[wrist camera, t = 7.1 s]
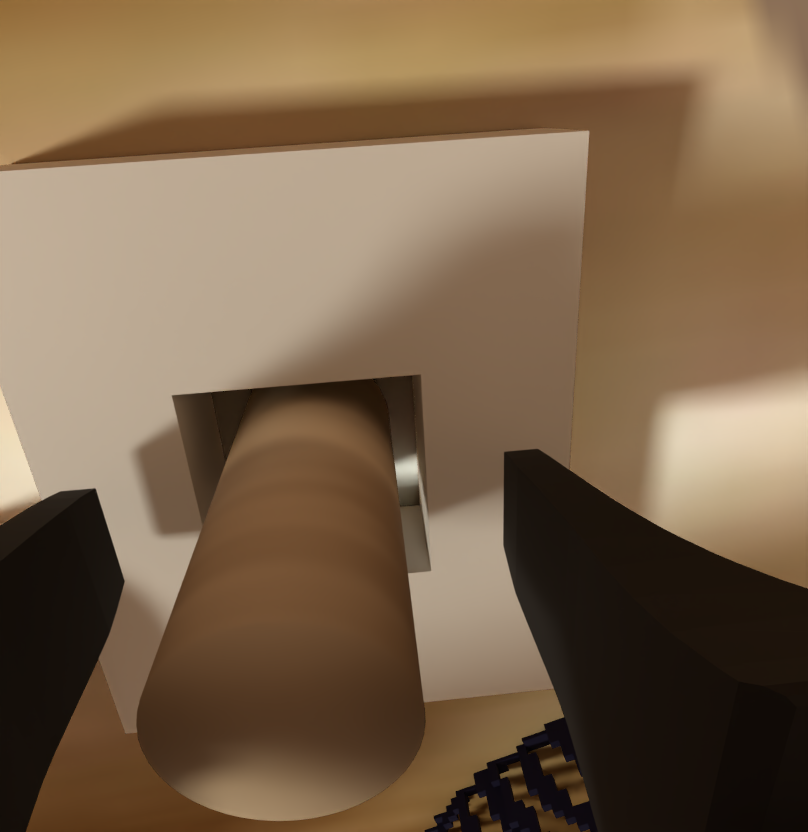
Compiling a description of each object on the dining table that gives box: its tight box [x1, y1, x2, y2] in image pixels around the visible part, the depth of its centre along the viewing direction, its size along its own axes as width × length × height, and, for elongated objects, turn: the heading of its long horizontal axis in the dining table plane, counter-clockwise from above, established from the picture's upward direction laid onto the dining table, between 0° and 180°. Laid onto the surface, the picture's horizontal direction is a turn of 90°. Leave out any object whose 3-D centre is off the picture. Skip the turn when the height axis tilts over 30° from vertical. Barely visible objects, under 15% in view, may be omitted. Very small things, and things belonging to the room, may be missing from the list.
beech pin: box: [136, 379, 425, 821], centre depth 11 cm, size 3×3×8 cm
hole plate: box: [0, 128, 589, 734], centre depth 13 cm, size 12×10×2 cm
